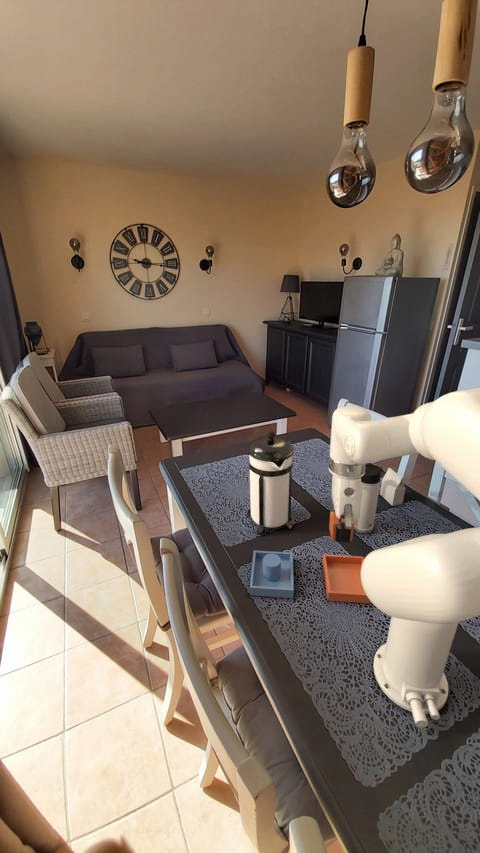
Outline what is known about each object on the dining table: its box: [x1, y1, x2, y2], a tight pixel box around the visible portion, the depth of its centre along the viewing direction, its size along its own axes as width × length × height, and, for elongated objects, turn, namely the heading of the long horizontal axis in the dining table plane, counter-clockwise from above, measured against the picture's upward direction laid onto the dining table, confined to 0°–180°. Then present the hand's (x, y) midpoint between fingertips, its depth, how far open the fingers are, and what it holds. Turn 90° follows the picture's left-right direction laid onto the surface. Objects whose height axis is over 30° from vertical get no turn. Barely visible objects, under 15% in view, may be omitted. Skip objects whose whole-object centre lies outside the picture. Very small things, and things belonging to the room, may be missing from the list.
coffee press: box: [247, 430, 295, 536], centre depth 105 cm, size 17×16×30 cm
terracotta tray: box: [321, 553, 374, 605], centre depth 88 cm, size 12×10×2 cm
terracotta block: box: [328, 510, 355, 542], centre depth 83 cm, size 5×5×5 cm
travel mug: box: [352, 463, 384, 534], centre depth 102 cm, size 6×7×20 cm
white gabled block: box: [379, 467, 406, 507], centre depth 117 cm, size 4×7×10 cm, turn 14°
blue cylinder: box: [263, 554, 281, 582], centre depth 89 cm, size 4×4×5 cm
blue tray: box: [249, 550, 295, 599], centre depth 90 cm, size 12×10×2 cm
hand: (340, 532), depth 84 cm, fingers closed on terracotta block, 4 cm apart
